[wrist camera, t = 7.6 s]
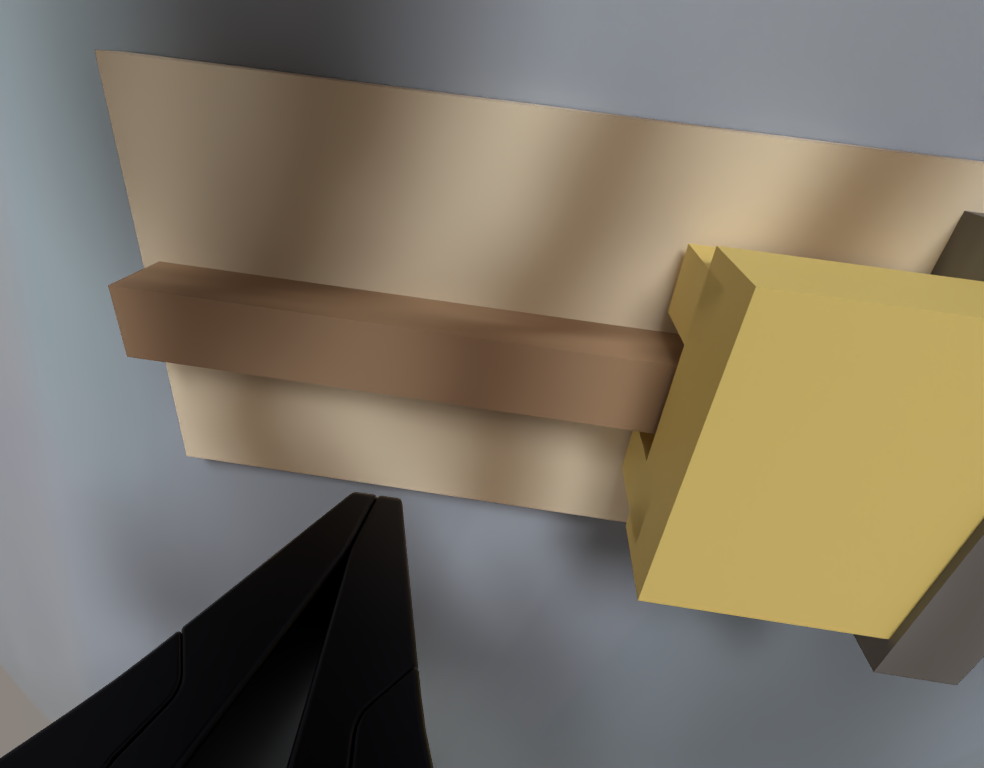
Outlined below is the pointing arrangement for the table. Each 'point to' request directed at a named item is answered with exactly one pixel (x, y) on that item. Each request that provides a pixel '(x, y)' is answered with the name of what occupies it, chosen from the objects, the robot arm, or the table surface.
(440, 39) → the table surface
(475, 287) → the track
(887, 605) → the block
